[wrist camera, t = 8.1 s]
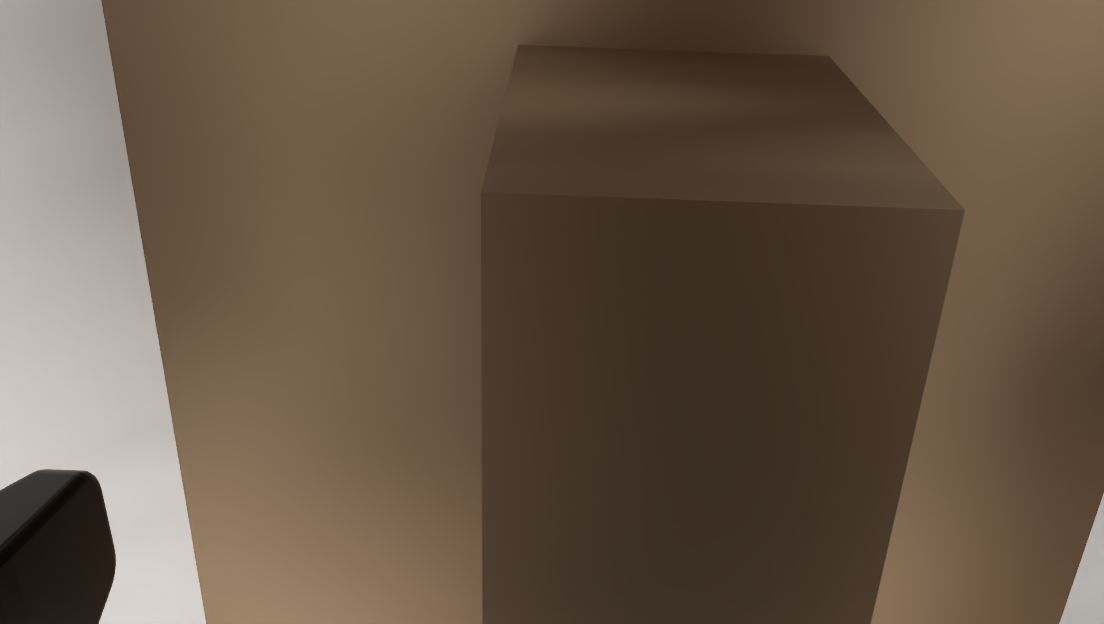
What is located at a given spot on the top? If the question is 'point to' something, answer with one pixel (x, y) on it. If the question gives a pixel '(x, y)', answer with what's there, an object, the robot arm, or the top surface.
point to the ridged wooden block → (626, 304)
